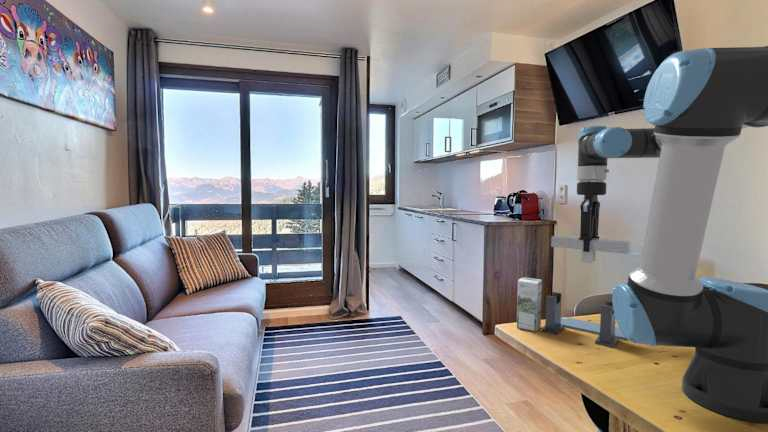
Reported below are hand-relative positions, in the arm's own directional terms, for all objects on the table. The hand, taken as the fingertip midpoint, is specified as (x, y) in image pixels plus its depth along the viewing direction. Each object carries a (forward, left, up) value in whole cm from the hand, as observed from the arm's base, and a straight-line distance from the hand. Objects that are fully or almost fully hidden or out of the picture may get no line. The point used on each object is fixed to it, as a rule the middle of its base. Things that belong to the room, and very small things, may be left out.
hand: (588, 261), depth 115 cm
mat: (0, 0, -20) cm, 20 cm away
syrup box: (-11, +13, -20) cm, 26 cm away
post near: (-8, -7, -20) cm, 23 cm away
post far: (-8, +7, -20) cm, 23 cm away
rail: (0, 0, +4) cm, 4 cm away
